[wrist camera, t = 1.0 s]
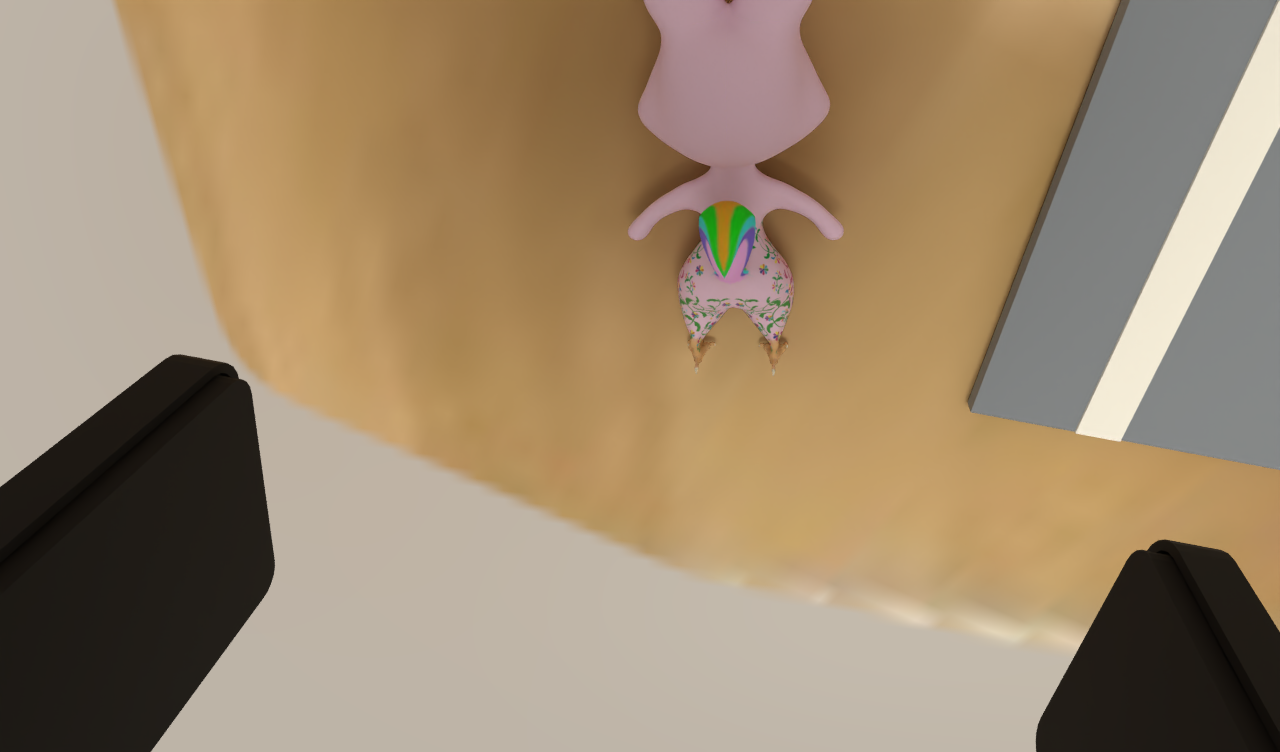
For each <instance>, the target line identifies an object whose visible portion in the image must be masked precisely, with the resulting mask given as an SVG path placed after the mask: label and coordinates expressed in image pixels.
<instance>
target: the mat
mask: <svg viewBox="0 0 1280 752" xmlns="http://www.w3.org/2000/svg"><path fill="white" fill-rule="evenodd" d="M968 405H969V408H970V412H972V413H978V414H983V415H988V416H994V417H999V418H1005V419H1010V420H1015V421H1021V422H1026V423H1031V424H1037V425H1042V426H1047V427H1053V428H1058V429H1063V430H1069V431H1074V432H1075V433H1076V434H1082V435H1087V436H1092V437H1098V438H1103V439H1109V440H1114V441H1119V442H1120V441H1121V440H1122V441H1128V442H1133V443H1138V444H1144V445H1149V446H1155V447H1160V448H1165V449H1171V450H1176V451H1181V452H1187V453H1192V454H1197V455H1203V456H1208V457H1213V458H1219V459H1224V460H1230V461H1235V462H1240V463H1246V464H1251V465H1256V466H1262V467H1267V468H1272V469H1278V470H1280V0H1121V3H1120V5H1119V8H1118V10H1117V13H1116V16H1115V18H1114V21H1113V24H1112V26H1111V29H1110V31H1109V34H1108V37H1107V39H1106V42H1105V44H1104V47H1103V50H1102V52H1101V55H1100V58H1099V60H1098V63H1097V65H1096V68H1095V71H1094V73H1093V76H1092V78H1091V81H1090V84H1089V86H1088V89H1087V92H1086V94H1085V97H1084V99H1083V102H1082V105H1081V107H1080V110H1079V112H1078V115H1077V118H1076V120H1075V123H1074V126H1073V128H1072V131H1071V133H1070V136H1069V139H1068V141H1067V144H1066V146H1065V149H1064V152H1063V154H1062V157H1061V160H1060V162H1059V165H1058V167H1057V170H1056V173H1055V175H1054V178H1053V180H1052V183H1051V186H1050V188H1049V191H1048V193H1047V196H1046V199H1045V201H1044V204H1043V207H1042V209H1041V212H1040V214H1039V217H1038V220H1037V222H1036V225H1035V227H1034V230H1033V233H1032V235H1031V238H1030V241H1029V243H1028V246H1027V248H1026V251H1025V254H1024V256H1023V259H1022V261H1021V264H1020V267H1019V269H1018V272H1017V275H1016V277H1015V280H1014V282H1013V285H1012V288H1011V290H1010V293H1009V295H1008V298H1007V301H1006V303H1005V306H1004V309H1003V311H1002V314H1001V316H1000V319H999V322H998V324H997V327H996V329H995V332H994V335H993V337H992V340H991V343H990V345H989V348H988V350H987V353H986V356H985V358H984V361H983V363H982V366H981V369H980V371H979V374H978V377H977V379H976V382H975V384H974V387H973V390H972V392H971V395H970V397H969V400H968Z"/></svg>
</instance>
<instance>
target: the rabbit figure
mask: <svg viewBox="0 0 1280 752" xmlns="http://www.w3.org/2000/svg"><path fill="white" fill-rule="evenodd" d="M811 2H812V0H733V1H732V2H731V3H729V4H728V3H727V2H726V1H725V0H644V3H645V5H646V8H647V10H648V12H649V14H650V15H651V17H652V18H653V20H654V21H655V23H656V24H657V26H658V28H659V30H660V33H661V48H660V52H659V55H658V58H657V60H656V63H655V65H654V68H653V70H652V73H651V75H650V78H649V80H648V83H647V85H646V88H645V90H644V92H643V95H642V97H641V99H640V102H639V105H638V114H639V117H640V119H641V121H642V123H643V124H644V125H645V126H646V127H647V128H648V129H649V130H650V131H651V132H652V133H653V134H654V135H655V136H657V137H658V138H659V139H660V140H662V141H663V142H664V143H666V144H667V145H669V146H670V147H671V148H673V149H675V150H676V151H678V152H679V153H681V154H683V155H684V156H686V157H688V158H690V159H692V160H694V161H696V162H699V163H702V164H705V165H708V166H711V167H710V169H709V171H708V172H707V173H705V174H704V175H702V176H700V177H698V178H696V179H694V180H691V181H689V182H686V183H684V184H682V185H680V186H678V187H676V188H675V189H673V190H671V191H670V192H668V193H666V194H665V195H663V196H662V197H660V198H659V199H657V200H656V201H654V202H653V203H652V204H651V205H650V206H649V207H647V208H646V209H645V210H644V211H643V212H642V213H641V214H640V215H639V216H638V217H637V218H636V219H635V220H634V221H633V222H632V224H631V225H630V226H629V228H628V235H629V237H630V238H632V239H634V240H641V239H643V238H645V237H646V236H647V235H648V233H649V232H650V231H651V229H652V227H653V226H654V225H655V224H656V223H657V222H658V221H659V220H660V219H662V218H663V217H665V216H667V215H669V214H671V213H674V212H676V211H680V210H685V209H689V210H694V211H697V212H698V213H700V214H701V215H700V216H699V233H700V238H701V241H700V242H699V243H698V245H697V246H696V248H695V249H694V250H693V252H692V253H691V254H690V256H689V257H688V258H687V260H686V261H685V263H684V265H683V266H682V268H681V271H680V273H679V276H678V295H679V302H680V307H681V310H682V313H683V317H684V320H685V323H686V326H687V329H688V331H689V333H690V336H691V341H690V340H688V347H689V349H690V350H691V351H692V354H693V356H694V361H695V362H696V365H695V372H696V374H697V370H698V365H699V363H700V362H701V361H702V358H703V356H704V354H705V353H706V351H707V350H708V349H709V348H710V346H711V345H715V346H716V343H715V342H710V343H708V342H705V343H704V340H703V338H704V337H705V335H706V334H707V333H708V332H709V330H710V329H711V328H712V327H713V326H714V325H715V324H716V322H717V321H718V320H719V319H720V318H721V317H722V316H723V315H724V313H725V312H726V311H727V310H728V309H729V308H732V307H735V308H740V309H742V310H744V312H745V313H746V314H747V315H748V317H749V318H750V319H751V320H752V322H753V323H754V324H755V325H756V326H757V328H758V329H759V330H760V331H761V333H762V334H763V335H764V336H765V338H766V339H767V340H768V342H769V343H770V344H769V343H766V344H764V343H760V344H759V346H764V349H765V351H766V352H767V354H768V356H769V359H770V363H771V364H772V372H773V376H774V373H775V364H777V363H778V359H779V357H780V355H781V354H782V353H783V352H784V351H785V350H786V347H787V348H788V343H787V342H785V343H784V344H779V342H778V341H779V338H780V336H781V334H782V332H783V329H784V327H785V324H786V321H787V319H788V316H789V313H790V310H791V307H792V303H793V296H794V281H793V276H792V273H791V271H790V269H789V267H788V265H787V263H786V262H785V260H784V259H783V257H782V256H781V255H780V254H779V252H778V251H777V250H776V249H775V247H774V246H773V245H772V244H771V242H770V241H769V239H768V238H767V236H766V234H765V232H764V229H763V218H764V217H765V215H766V214H767V213H769V212H770V211H772V210H775V209H787V210H791V211H794V212H797V213H799V214H801V215H803V216H805V217H807V218H808V219H810V220H811V221H812V222H813V223H814V224H815V225H816V226H817V227H818V229H819V230H820V232H821V233H822V234H823V235H824V236H825V237H826V238H828V239H830V240H837V239H839V238H841V237H842V235H843V233H844V228H843V226H842V224H841V223H840V222H839V221H838V220H837V219H836V218H835V217H834V216H833V215H832V214H830V213H829V212H828V211H827V210H826V209H825V208H824V207H823V206H822V205H820V204H819V203H818V202H817V201H815V200H814V199H813V198H811V197H810V196H808V195H806V194H805V193H803V192H801V191H799V190H798V189H796V188H794V187H792V186H790V185H788V184H786V183H784V182H782V181H779V180H776V179H773V178H771V177H769V176H766V175H765V174H763V173H761V172H760V171H759V170H758V169H757V168H756V166H755V164H756V163H759V162H762V161H765V160H767V159H769V158H771V157H773V156H775V155H777V154H779V153H780V152H782V151H784V150H786V149H787V148H789V147H791V146H792V145H794V144H796V143H797V142H799V141H800V140H802V139H803V138H804V137H806V136H807V135H808V134H809V133H811V132H812V131H813V130H814V129H815V128H816V127H817V126H818V125H819V124H820V123H821V122H822V121H823V120H824V119H825V117H826V116H827V114H828V112H829V108H830V100H829V97H828V95H827V93H826V91H825V89H824V87H823V85H822V83H821V81H820V79H819V77H818V75H817V73H816V71H815V68H814V66H813V64H812V62H811V60H810V58H809V56H808V54H807V52H806V50H805V48H804V45H803V43H802V40H801V36H800V24H801V20H802V18H803V16H804V14H805V13H806V11H807V9H808V8H809V6H810V4H811ZM785 346H786V347H785Z"/></svg>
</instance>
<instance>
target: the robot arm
mask: <svg viewBox="0 0 1280 752" xmlns="http://www.w3.org/2000/svg"><path fill="white" fill-rule="evenodd" d="M274 561H275V560H274V553H273V545H272V539H271V531H270V524H269V516H268V509H267V501H266V494H265V487H264V480H263V473H262V465H261V458H260V451H259V443H258V436H257V428H256V421H255V414H254V407H253V399H252V393H251V389H250V386H249V385H248V383H247V382H246V381H244V380H241V379H239V378H238V374H237V372H236V370H235V369H234V367H233V366H231V365H229V364H227V363H223V362H218V361H213V360H207V359H202V358H197V357H191V356H186V355H172V356H170V357H168V358H166V359H165V360H163V361H162V362H161V363H160V364H158V365H157V366H156V367H154V368H153V369H152V370H150V371H149V372H148V373H147V374H145V375H144V376H143V377H141V378H140V379H139V380H138V381H136V382H135V383H134V384H132V385H131V386H130V387H129V388H127V389H126V390H125V391H123V392H122V393H121V394H120V395H118V396H117V397H116V398H115V399H113V400H112V401H111V402H109V403H108V404H107V405H105V406H104V407H103V408H102V409H100V410H99V411H98V412H96V413H95V414H94V415H93V416H92V417H90V418H89V419H88V420H86V421H85V422H84V423H82V424H81V425H80V426H78V427H77V428H76V429H75V430H73V431H72V432H71V433H69V434H68V435H67V436H65V437H64V438H63V439H62V440H60V441H59V442H58V443H57V444H55V445H54V446H53V447H51V448H50V449H49V450H48V451H46V452H45V453H44V454H42V455H41V456H40V457H39V458H37V459H36V460H35V461H33V462H32V463H31V464H30V465H28V466H27V467H26V468H24V469H23V470H22V471H20V472H19V473H18V474H17V475H15V476H14V477H13V478H11V479H10V480H9V481H8V482H7V483H5V484H4V485H2V486H1V487H0V752H151V751H152V749H153V748H154V747H155V745H156V744H157V742H158V741H159V740H160V738H161V737H162V736H163V734H164V733H165V732H166V730H167V729H168V727H169V726H170V725H171V723H172V722H173V721H174V719H175V718H176V717H177V715H178V714H179V712H180V711H181V710H182V708H183V707H184V706H185V704H186V703H187V702H188V700H189V699H190V697H191V696H192V695H193V693H194V692H195V690H196V689H197V688H198V686H199V685H200V684H201V682H202V681H203V679H204V678H205V677H206V676H207V674H208V673H209V672H210V670H211V669H212V667H213V666H214V665H215V663H216V662H217V661H218V659H219V658H220V656H221V655H222V654H223V652H224V651H225V649H226V648H227V647H228V646H229V644H230V642H231V641H232V640H233V639H234V637H235V636H236V635H237V633H238V632H239V631H240V629H241V628H242V626H243V625H244V624H245V622H246V621H247V620H248V618H249V617H250V615H251V614H252V613H253V611H254V610H255V609H256V607H257V606H258V605H259V603H260V602H261V601H262V599H263V598H264V596H265V595H266V593H267V591H268V589H269V587H270V585H271V582H272V578H273V575H274V568H275V562H274ZM1036 752H1280V632H1279V630H1278V629H1277V627H1276V625H1275V624H1274V622H1273V621H1272V619H1271V617H1270V616H1269V614H1268V613H1267V611H1266V609H1265V608H1264V606H1263V605H1262V603H1261V602H1260V600H1259V598H1258V597H1257V595H1256V594H1255V592H1254V590H1253V589H1252V587H1251V586H1250V584H1249V582H1248V581H1247V579H1246V578H1245V576H1244V574H1243V573H1242V571H1241V570H1240V568H1239V567H1238V565H1237V563H1236V562H1235V560H1234V559H1233V558H1232V557H1231V556H1230V555H1229V554H1228V553H1226V552H1224V551H1222V550H1218V549H1213V548H1207V547H1202V546H1197V545H1191V544H1186V543H1181V542H1175V541H1170V540H1158V541H1157V542H1155V543H1154V544H1152V545H1151V546H1150V548H1149V549H1148V550H1147V551H1145V550H1137V551H1135V552H1134V553H1132V554H1131V555H1130V557H1129V558H1128V560H1127V561H1126V563H1125V565H1124V567H1123V569H1122V570H1121V572H1120V574H1119V576H1118V578H1117V580H1116V581H1115V583H1114V585H1113V587H1112V589H1111V591H1110V592H1109V594H1108V596H1107V598H1106V600H1105V602H1104V603H1103V605H1102V607H1101V609H1100V611H1099V612H1098V614H1097V616H1096V618H1095V620H1094V622H1093V623H1092V625H1091V627H1090V629H1089V631H1088V633H1087V634H1086V636H1085V638H1084V640H1083V642H1082V644H1081V645H1080V647H1079V649H1078V651H1077V653H1076V654H1075V656H1074V658H1073V660H1072V662H1071V664H1070V665H1069V667H1068V669H1067V671H1066V673H1065V675H1064V676H1063V678H1062V680H1061V682H1060V684H1059V686H1058V687H1057V689H1056V691H1055V693H1054V695H1053V697H1052V698H1051V700H1050V702H1049V704H1048V706H1047V707H1046V709H1045V711H1044V713H1043V715H1042V717H1041V719H1040V721H1039V724H1038V728H1037V732H1036Z"/></svg>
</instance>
